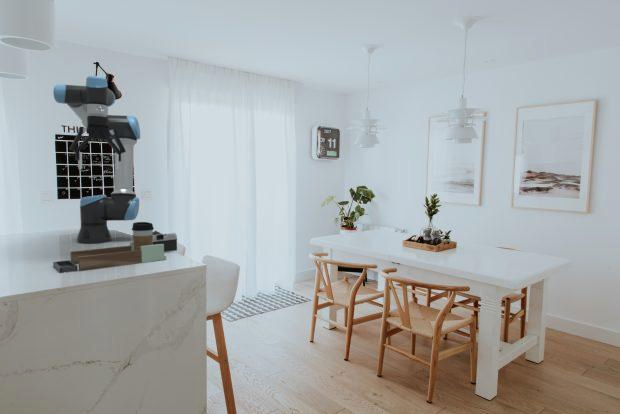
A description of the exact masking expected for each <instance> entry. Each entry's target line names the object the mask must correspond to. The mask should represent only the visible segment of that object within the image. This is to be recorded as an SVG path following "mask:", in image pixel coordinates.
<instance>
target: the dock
mask: <svg viewBox="0 0 620 414" xmlns="http://www.w3.org/2000/svg"><path fill="white" fill-rule="evenodd" d="M129 246H131V251H135V249H134V241H130V242H129ZM140 250H142V263H151V262H159V261H165V260H166V261H167V255H165V253H164V244H157V245H153V240H152V245H147V246H140ZM142 263H141V264H142Z"/></svg>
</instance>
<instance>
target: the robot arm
mask: <svg viewBox="0 0 620 414" xmlns="http://www.w3.org/2000/svg"><path fill="white" fill-rule="evenodd" d="M108 86H109V84H108V79H107V78H106V77H103V76H99V75H89V76H87V77H86V82H85V85H74V84H55V86H54V87H53V98H54V101H55V102H56V103H57V104H63V105H65V104H66V105H67V106H68V107H69V108H70V109H71V110H72V111H73V113H75V115H76V116H77V117H78V118H79V119H80V120H81V124H82V126H80V127H78V128H77V129H78V130H77V134H76V136H75V137H74V139H73V141H72V143H71V145H70V147H69V150H70V151H72V152H73V153H74V158H75V159H74V160H75V161H77V163H78V164H77V166H78V168H77V169H78V170H82V169H83V152H81V150H82V149H83V148H84V147H86V145H87V144H88V143H89V142H90V141H91V140H93V141H94V140H96V141H97V140H98V141H103V140H104V141H105V142H106V143H107V144H108V145H109V147H111V149H112V150H113V151H114V190H113V191H112V192H111V193H110V197H108V196H107V195H106V194H98V195H91V196H85V197H84V196H83V197H81V199H80V202H79V203H80V204H79V209H80V211H79V214H80V217H79V218H80V228H79V232H78V234H77V236H76V237H77V238H76V243H78V244H82V245H83V244H85V245H86V244H87V245H88V244H89V245H90V244H91V245H93V244H104V243H109V242H111V241H112V235H111V233H110V229H109V227H108V221H125V222H126V221H135V220H136V218H137V216H138V215H139V211H140V210H139V209H140V198H139V197H137V195H136V192H134V191H133V189H134V147H135V144H136V145H137V141H138V140H139V139H141V129H140V125H139V121H138V118H137V117H136V116H133V115H118V114H117V115H114V114H109V107H111V106H113V105H114V104H115V103H116V95H115V93H114V92H113V91H112V90H111V89H110V88H108ZM83 126H84V127H83ZM85 132H86V133H87V134H88V136H86V137H85V139H83V141H82V142H81V143H80V144H79V145H78V143H79V142H80V140H81V138H82V136H83V134H84V133H85ZM77 145H78V146H77Z"/></svg>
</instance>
